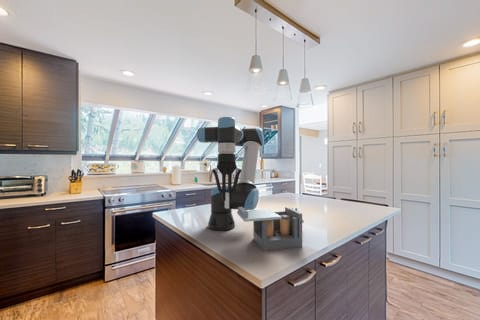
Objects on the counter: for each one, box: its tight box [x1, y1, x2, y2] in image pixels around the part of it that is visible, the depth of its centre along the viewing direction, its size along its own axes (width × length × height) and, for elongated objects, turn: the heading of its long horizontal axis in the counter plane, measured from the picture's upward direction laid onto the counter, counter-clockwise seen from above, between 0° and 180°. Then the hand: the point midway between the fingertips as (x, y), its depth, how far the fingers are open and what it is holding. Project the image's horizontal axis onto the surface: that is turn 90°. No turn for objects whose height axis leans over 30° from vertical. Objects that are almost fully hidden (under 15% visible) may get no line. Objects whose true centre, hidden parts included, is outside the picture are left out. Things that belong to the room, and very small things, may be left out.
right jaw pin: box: [280, 215, 290, 236], centre depth 101 cm, size 4×4×12 cm
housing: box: [252, 206, 303, 252], centre depth 100 cm, size 14×18×14 cm
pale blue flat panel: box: [236, 207, 281, 223], centre depth 98 cm, size 14×16×4 cm
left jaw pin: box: [266, 220, 273, 237], centre depth 99 cm, size 4×4×12 cm
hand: (226, 207), depth 94 cm, fingers closed
